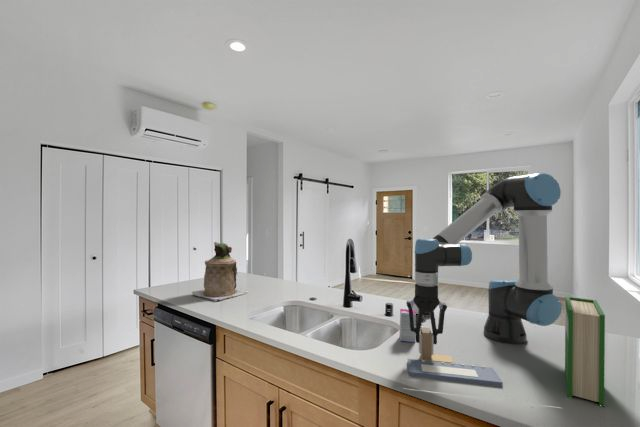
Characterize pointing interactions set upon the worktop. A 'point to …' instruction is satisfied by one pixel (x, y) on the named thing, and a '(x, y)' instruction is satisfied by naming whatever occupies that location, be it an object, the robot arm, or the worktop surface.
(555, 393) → the worktop surface
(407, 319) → the supplement box
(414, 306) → the medicine bottle
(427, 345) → the wooden l-shaped block
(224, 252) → the cookie jar
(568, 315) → the hardback book
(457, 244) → the robot arm
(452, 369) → the blue-grey flat rectangular block
